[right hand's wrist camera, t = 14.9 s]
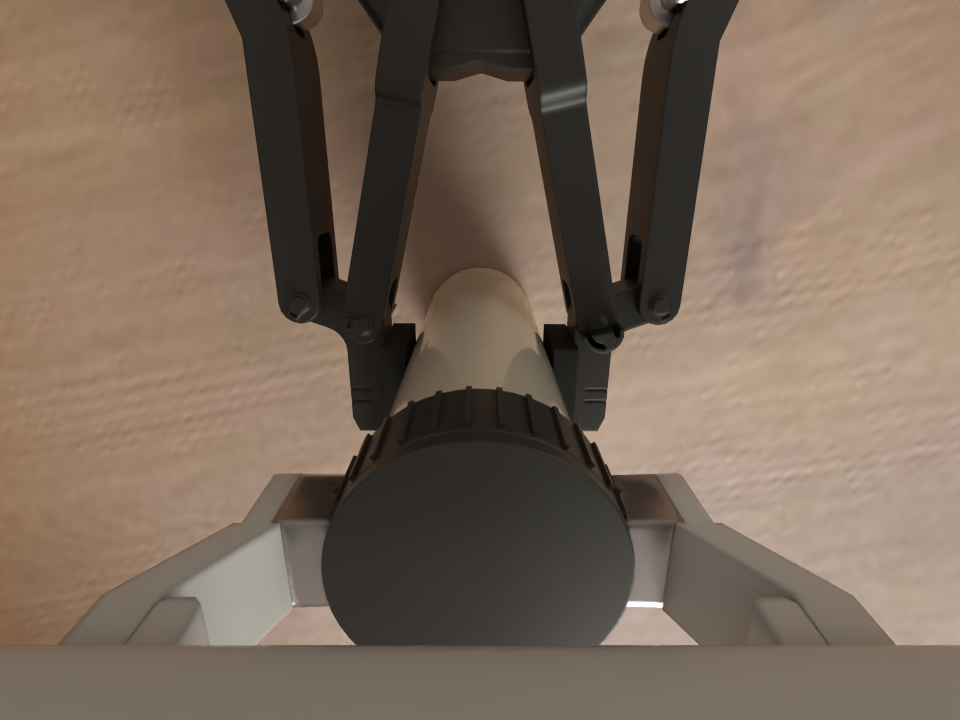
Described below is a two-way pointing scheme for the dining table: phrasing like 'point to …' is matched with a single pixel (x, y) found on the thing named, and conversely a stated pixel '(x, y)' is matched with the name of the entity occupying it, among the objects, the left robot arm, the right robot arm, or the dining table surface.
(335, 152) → the dining table surface
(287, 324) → the dining table surface
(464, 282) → the jar
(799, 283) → the dining table surface
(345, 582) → the lid
